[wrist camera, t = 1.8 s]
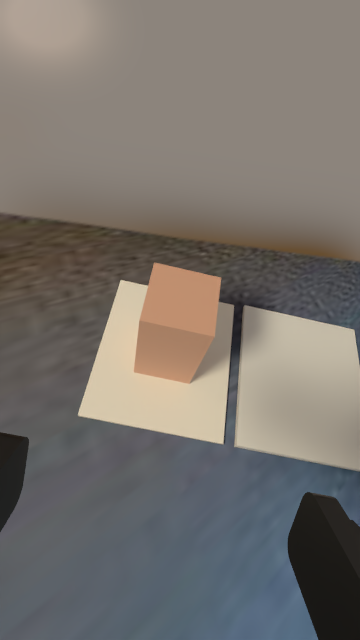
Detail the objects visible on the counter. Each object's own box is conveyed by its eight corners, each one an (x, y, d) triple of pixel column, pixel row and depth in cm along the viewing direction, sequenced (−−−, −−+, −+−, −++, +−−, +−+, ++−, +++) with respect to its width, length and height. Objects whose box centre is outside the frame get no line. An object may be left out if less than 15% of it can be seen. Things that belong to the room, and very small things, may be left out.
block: (196, 335, 32) (221, 277, 24) (189, 383, 29) (214, 336, 21) (145, 324, 31) (154, 262, 24) (133, 372, 29) (139, 320, 21)
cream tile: (233, 306, 34) (234, 305, 34) (222, 444, 27) (223, 444, 27) (120, 281, 34) (120, 279, 34) (77, 415, 26) (77, 415, 26)
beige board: (350, 332, 35) (354, 329, 35) (371, 473, 28) (375, 473, 27) (242, 308, 34) (244, 305, 34) (234, 446, 27) (236, 445, 27)
